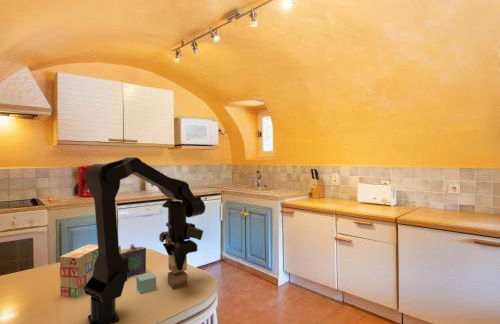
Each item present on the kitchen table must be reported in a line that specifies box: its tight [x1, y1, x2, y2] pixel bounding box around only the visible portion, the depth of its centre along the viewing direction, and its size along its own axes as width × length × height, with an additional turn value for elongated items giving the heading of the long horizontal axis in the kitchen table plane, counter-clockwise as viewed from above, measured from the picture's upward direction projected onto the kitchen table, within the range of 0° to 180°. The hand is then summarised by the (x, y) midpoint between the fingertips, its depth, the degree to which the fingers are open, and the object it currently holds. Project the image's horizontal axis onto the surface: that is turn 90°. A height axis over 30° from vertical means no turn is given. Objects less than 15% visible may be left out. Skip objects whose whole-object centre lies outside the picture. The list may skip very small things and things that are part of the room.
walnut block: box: [167, 271, 188, 291], centre depth 96 cm, size 5×5×4 cm
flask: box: [120, 243, 147, 278], centre depth 104 cm, size 9×3×11 cm, turn 133°
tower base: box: [135, 272, 157, 294], centre depth 93 cm, size 5×5×4 cm
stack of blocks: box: [59, 244, 122, 299], centre depth 98 cm, size 21×6×12 cm, turn 171°
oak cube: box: [168, 255, 188, 273], centre depth 96 cm, size 4×4×4 cm
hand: (177, 267), depth 96 cm, fingers closed on oak cube, 4 cm apart
